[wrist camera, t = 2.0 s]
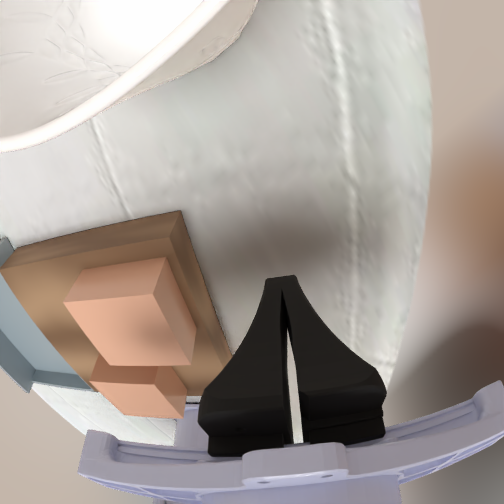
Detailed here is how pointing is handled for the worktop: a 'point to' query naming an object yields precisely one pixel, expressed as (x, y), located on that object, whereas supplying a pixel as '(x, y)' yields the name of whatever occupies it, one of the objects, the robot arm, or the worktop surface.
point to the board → (111, 253)
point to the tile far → (141, 389)
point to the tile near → (134, 313)
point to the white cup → (99, 56)
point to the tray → (29, 344)
